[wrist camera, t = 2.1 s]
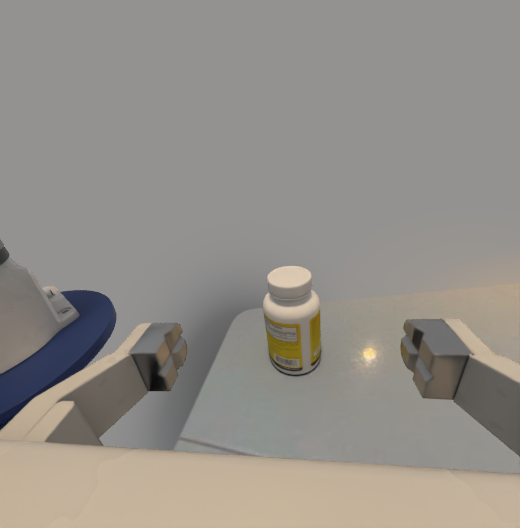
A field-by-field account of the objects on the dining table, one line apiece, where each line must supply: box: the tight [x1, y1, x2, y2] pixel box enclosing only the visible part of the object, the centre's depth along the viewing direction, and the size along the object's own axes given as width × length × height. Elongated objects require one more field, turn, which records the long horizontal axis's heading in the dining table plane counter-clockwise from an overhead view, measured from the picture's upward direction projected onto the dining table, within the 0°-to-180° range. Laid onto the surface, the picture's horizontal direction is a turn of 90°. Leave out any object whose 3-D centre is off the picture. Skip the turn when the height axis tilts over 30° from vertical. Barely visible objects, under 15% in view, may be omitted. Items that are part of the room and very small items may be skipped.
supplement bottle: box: [263, 266, 321, 375], centre depth 24 cm, size 5×5×10 cm
